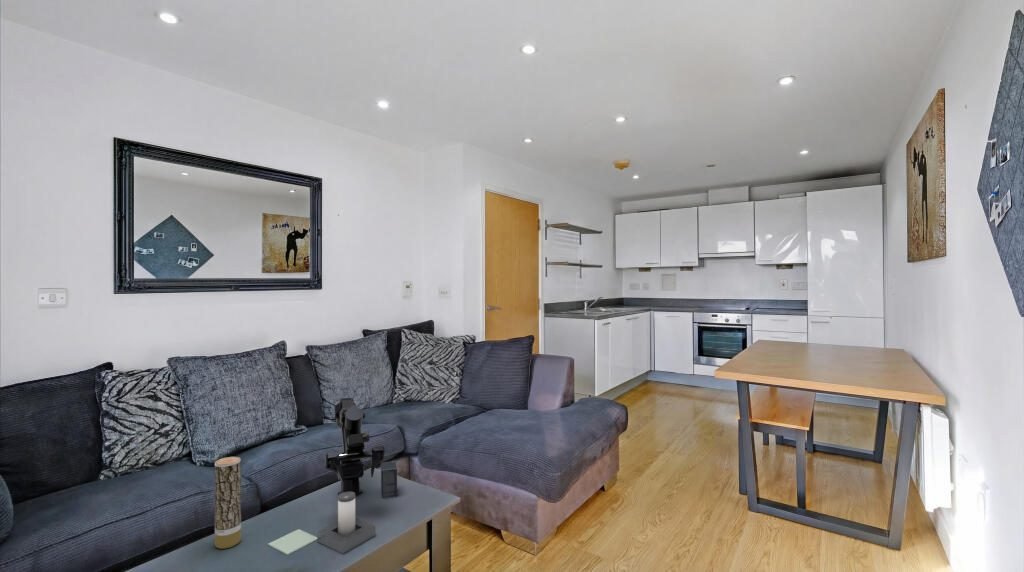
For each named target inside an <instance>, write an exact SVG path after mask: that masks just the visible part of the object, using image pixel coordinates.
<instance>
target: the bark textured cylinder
mask: <svg viewBox="0 0 1024 572" xmlns="http://www.w3.org/2000/svg"><path fill="white" fill-rule="evenodd" d="M241 459H242V458H241V457H239V456H229V457H228V456H227V457H223V458H220V459H217V460H216V461H215V462H214V546H215V547H216V548H217V549H220V550H221V549H222V550H223V549H224V550H226V549H228V548H229V549H230V548H232V547H235V546H236V545H238V544H239V543H240V542H241V540H242V460H241Z"/></svg>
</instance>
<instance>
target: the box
mask: <svg viewBox="0 0 1024 572" xmlns="http://www.w3.org/2000/svg"><path fill="white" fill-rule="evenodd" d="M396 463H397V461H396V460H392V461H384V462H380V486H381V487H380V493H381V499H388V498H387V497H390V498H394V497H393V496H396V497H398V468H397V467H398V466H397V464H396Z"/></svg>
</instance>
